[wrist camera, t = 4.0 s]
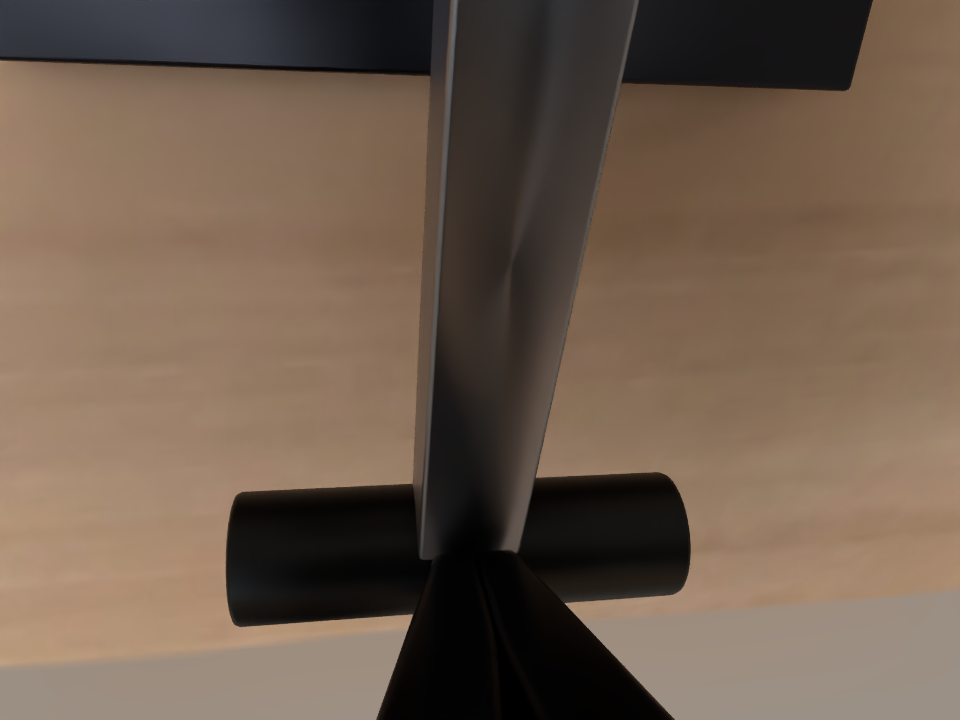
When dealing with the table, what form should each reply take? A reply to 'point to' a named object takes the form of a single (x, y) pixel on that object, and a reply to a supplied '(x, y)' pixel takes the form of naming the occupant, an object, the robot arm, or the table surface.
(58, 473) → the table surface
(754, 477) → the table surface
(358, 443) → the table surface
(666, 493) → the lever
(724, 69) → the bracket
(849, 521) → the table surface
